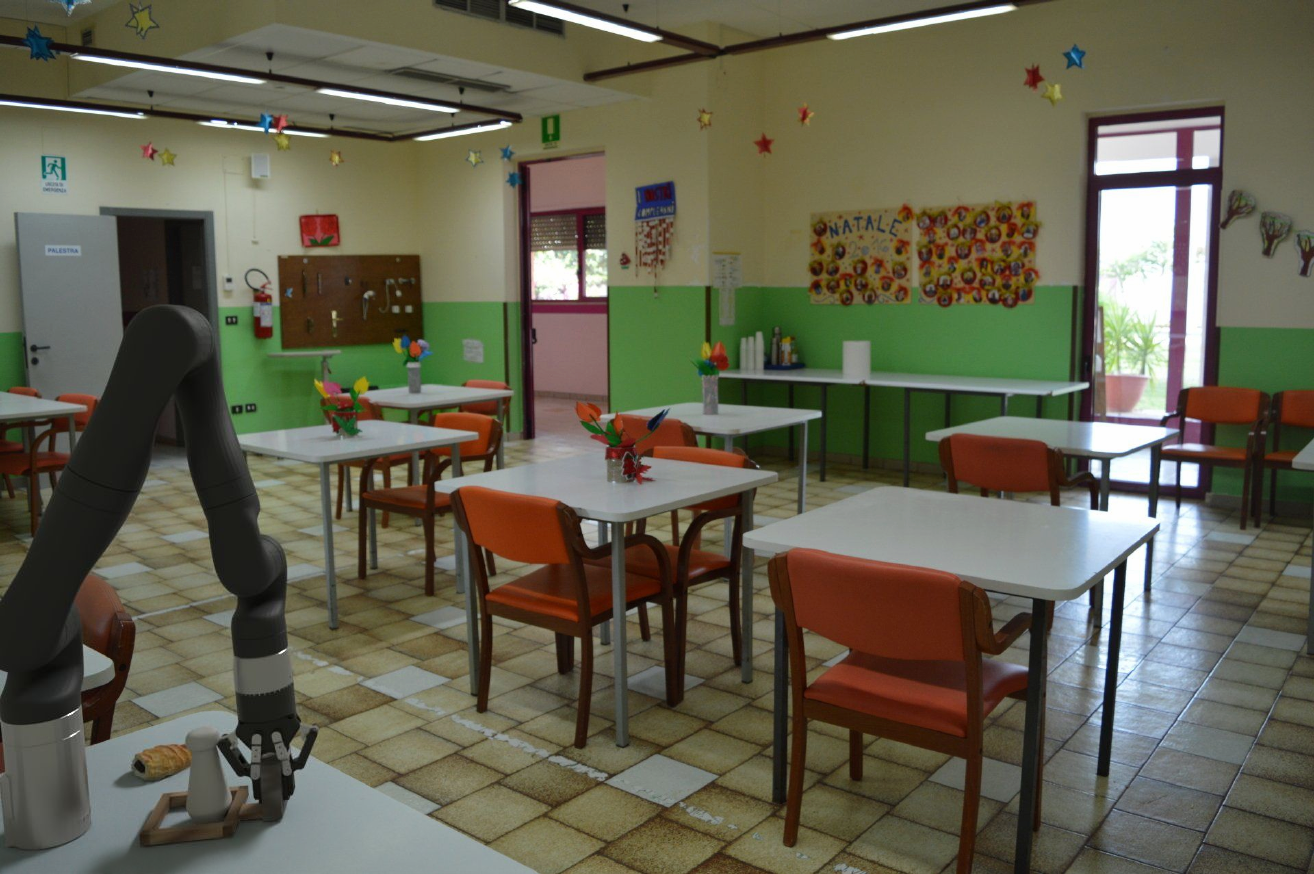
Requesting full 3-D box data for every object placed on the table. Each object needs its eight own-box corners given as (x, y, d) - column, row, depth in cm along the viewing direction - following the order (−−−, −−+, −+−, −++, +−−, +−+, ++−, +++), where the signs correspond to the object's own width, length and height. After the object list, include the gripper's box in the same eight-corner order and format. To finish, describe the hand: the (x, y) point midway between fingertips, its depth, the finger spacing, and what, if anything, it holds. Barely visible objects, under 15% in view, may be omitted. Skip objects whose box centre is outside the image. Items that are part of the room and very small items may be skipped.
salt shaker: (214, 832, 135) (205, 741, 133) (178, 828, 136) (168, 738, 134) (242, 810, 141) (233, 722, 139) (207, 806, 142) (197, 719, 140)
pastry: (187, 751, 160) (186, 729, 159) (209, 763, 156) (208, 740, 155) (127, 773, 152) (125, 750, 152) (149, 787, 148) (147, 762, 148)
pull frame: (140, 845, 131) (135, 788, 130) (163, 803, 142) (159, 750, 141) (278, 831, 135) (275, 775, 134) (291, 790, 146) (288, 738, 145)
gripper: (203, 697, 132) (216, 819, 135) (313, 685, 135) (324, 805, 138) (215, 677, 140) (227, 793, 142) (320, 666, 142) (330, 780, 145)
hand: (275, 798), depth 140 cm, fingers closed on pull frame, 2 cm apart
